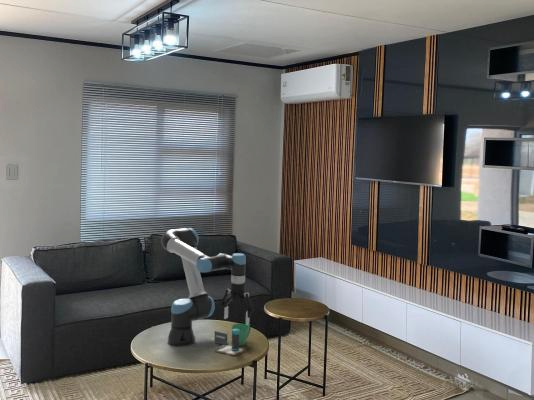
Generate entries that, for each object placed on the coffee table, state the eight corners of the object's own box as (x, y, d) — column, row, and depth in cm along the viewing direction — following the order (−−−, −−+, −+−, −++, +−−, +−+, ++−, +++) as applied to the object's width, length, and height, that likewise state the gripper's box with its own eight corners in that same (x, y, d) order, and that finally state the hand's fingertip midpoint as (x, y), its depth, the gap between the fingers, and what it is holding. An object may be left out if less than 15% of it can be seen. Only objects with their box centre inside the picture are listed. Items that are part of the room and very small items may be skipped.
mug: (243, 348, 314) (243, 330, 313) (228, 344, 318) (228, 327, 317) (256, 340, 327) (256, 323, 326) (241, 337, 331) (241, 320, 330)
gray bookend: (213, 342, 322) (213, 331, 321) (216, 340, 324) (216, 330, 324) (225, 344, 318) (225, 334, 317) (228, 343, 320) (228, 332, 320)
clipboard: (215, 351, 307) (215, 349, 307) (225, 345, 316) (226, 343, 316) (235, 356, 301) (235, 354, 301) (246, 350, 310) (246, 347, 310)
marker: (235, 348, 311) (235, 328, 310) (240, 350, 308) (241, 329, 307) (229, 350, 308) (230, 330, 307) (235, 352, 305) (236, 331, 304)
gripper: (214, 280, 308) (213, 318, 310) (254, 287, 296) (253, 327, 299) (222, 277, 315) (221, 314, 317) (261, 284, 303) (260, 323, 305)
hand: (236, 320), depth 308 cm, fingers open, 13 cm apart
